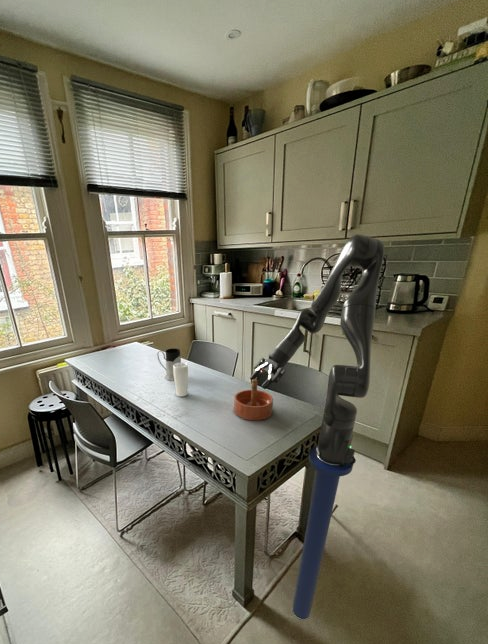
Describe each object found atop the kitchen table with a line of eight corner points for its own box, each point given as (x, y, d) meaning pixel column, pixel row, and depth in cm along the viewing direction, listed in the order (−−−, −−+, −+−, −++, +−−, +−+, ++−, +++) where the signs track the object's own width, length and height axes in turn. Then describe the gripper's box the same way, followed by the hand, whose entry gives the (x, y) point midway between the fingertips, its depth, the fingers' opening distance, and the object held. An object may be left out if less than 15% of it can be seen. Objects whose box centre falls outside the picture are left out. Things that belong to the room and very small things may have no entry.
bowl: (277, 409, 134) (279, 395, 132) (261, 425, 124) (262, 411, 121) (245, 399, 143) (246, 386, 141) (227, 413, 133) (227, 400, 130)
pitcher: (176, 381, 164) (175, 354, 157) (154, 377, 170) (152, 350, 164) (185, 375, 170) (184, 349, 164) (163, 371, 177) (161, 345, 171)
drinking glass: (175, 391, 154) (174, 362, 147) (189, 391, 153) (188, 362, 146) (173, 397, 148) (171, 367, 141) (187, 398, 147) (186, 368, 140)
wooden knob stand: (261, 409, 134) (263, 379, 128) (255, 414, 130) (257, 383, 124) (250, 406, 137) (252, 376, 131) (244, 411, 133) (245, 380, 127)
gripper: (299, 363, 123) (272, 395, 124) (277, 352, 135) (252, 382, 137) (289, 352, 119) (261, 385, 120) (267, 342, 131) (242, 372, 133)
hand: (257, 383), depth 129 cm, fingers open, 8 cm apart
